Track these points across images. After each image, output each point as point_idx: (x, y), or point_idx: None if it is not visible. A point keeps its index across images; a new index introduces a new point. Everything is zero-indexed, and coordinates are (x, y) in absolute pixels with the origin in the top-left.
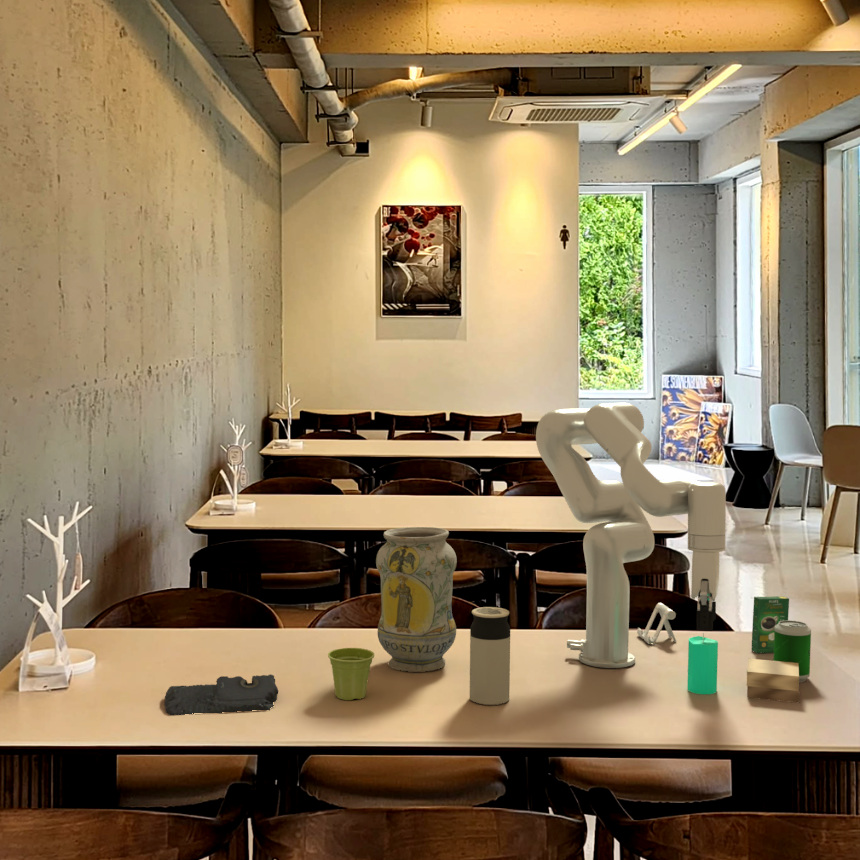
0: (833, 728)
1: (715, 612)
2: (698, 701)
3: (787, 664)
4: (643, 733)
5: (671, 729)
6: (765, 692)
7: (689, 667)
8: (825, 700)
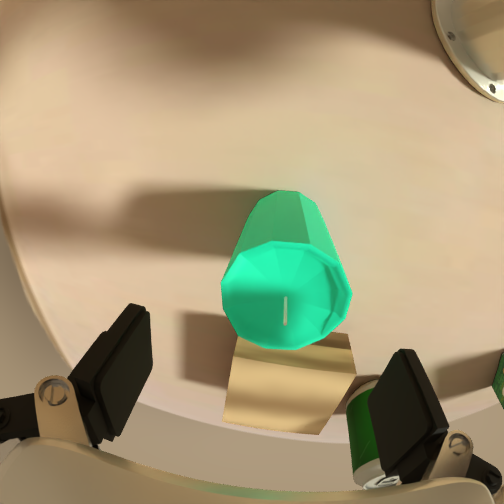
0: None
1: (376, 431)
2: (186, 208)
3: (307, 423)
4: (12, 114)
5: (29, 154)
6: None
7: (268, 209)
8: None
